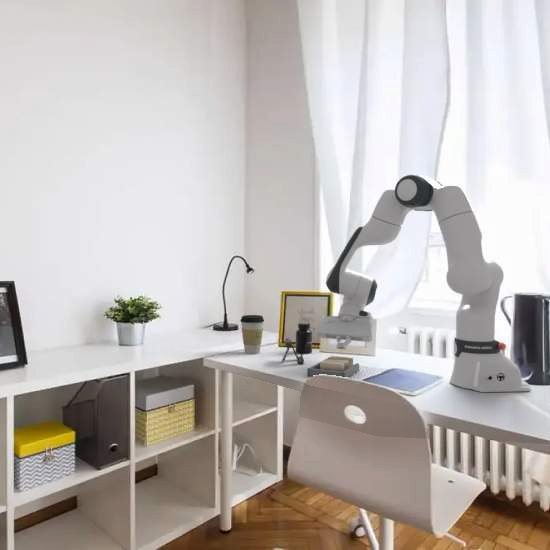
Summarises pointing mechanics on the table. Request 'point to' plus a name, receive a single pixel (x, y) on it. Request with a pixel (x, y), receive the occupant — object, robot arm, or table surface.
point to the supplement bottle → (304, 339)
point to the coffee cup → (252, 333)
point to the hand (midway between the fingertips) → (340, 348)
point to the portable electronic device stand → (288, 345)
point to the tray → (347, 373)
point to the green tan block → (336, 363)
